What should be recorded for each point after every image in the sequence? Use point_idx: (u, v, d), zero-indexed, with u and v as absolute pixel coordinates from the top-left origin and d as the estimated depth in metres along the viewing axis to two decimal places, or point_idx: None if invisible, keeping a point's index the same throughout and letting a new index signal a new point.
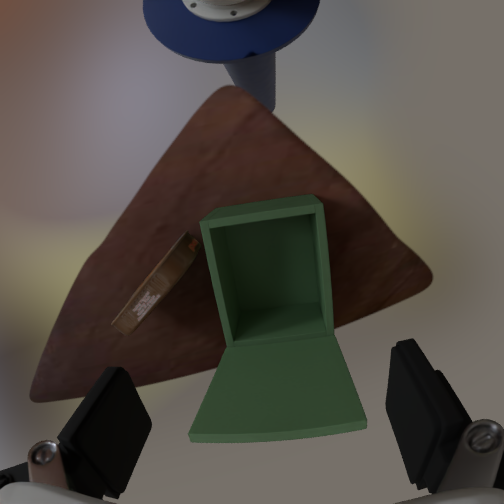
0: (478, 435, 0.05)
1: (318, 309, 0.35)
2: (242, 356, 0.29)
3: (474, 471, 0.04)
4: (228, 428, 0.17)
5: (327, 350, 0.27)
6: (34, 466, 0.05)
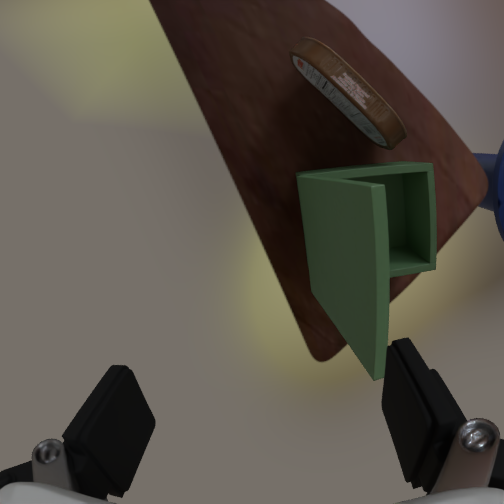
0: (472, 434, 0.05)
1: None
2: None
3: (469, 470, 0.04)
4: None
5: None
6: (38, 465, 0.05)
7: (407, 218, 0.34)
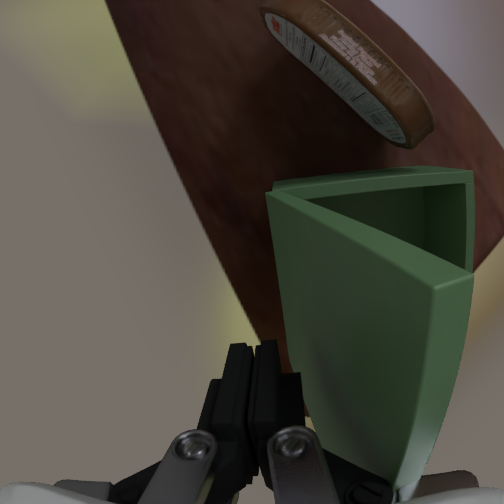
0: (285, 443, 0.06)
1: None
2: None
3: (302, 475, 0.05)
4: None
5: None
6: (188, 463, 0.06)
7: (427, 245, 0.24)
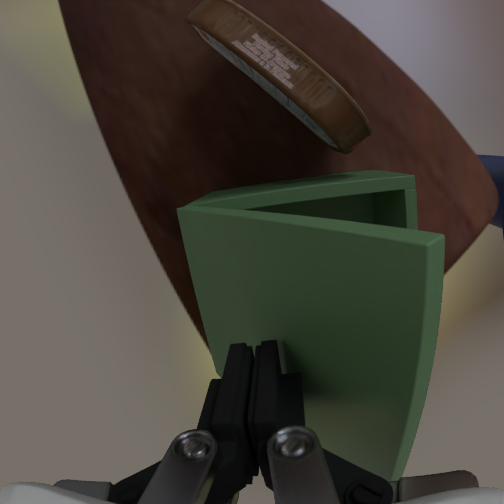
0: (285, 443, 0.06)
1: None
2: None
3: (302, 475, 0.05)
4: None
5: None
6: (188, 463, 0.06)
7: None
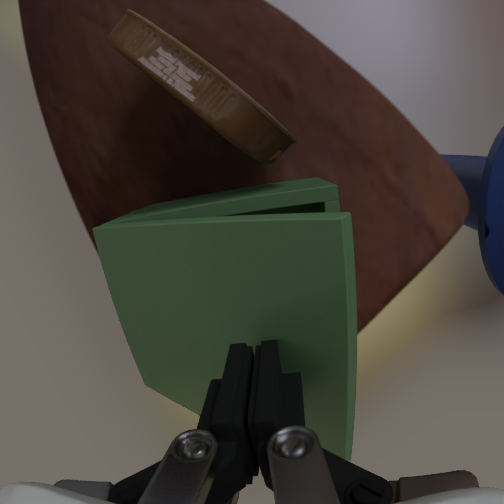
0: (285, 443, 0.06)
1: None
2: None
3: (302, 475, 0.05)
4: None
5: None
6: (188, 463, 0.06)
7: None
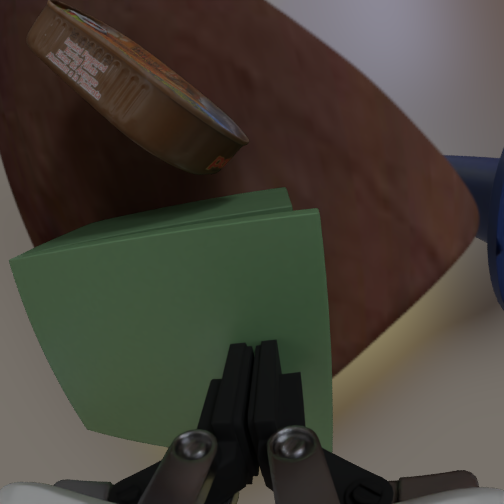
0: (285, 444, 0.06)
1: None
2: None
3: (302, 475, 0.05)
4: None
5: None
6: (188, 463, 0.06)
7: None
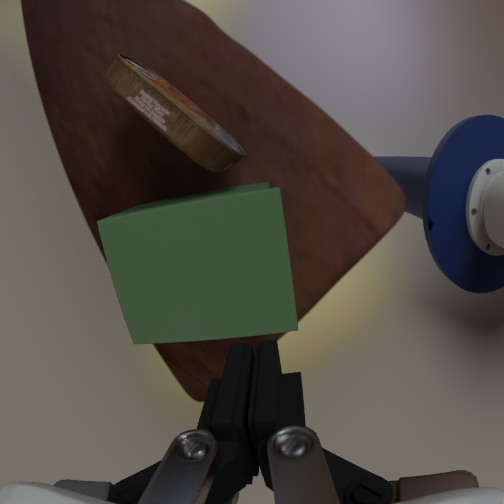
0: (285, 443, 0.06)
1: None
2: None
3: (302, 475, 0.05)
4: None
5: None
6: (188, 463, 0.06)
7: None
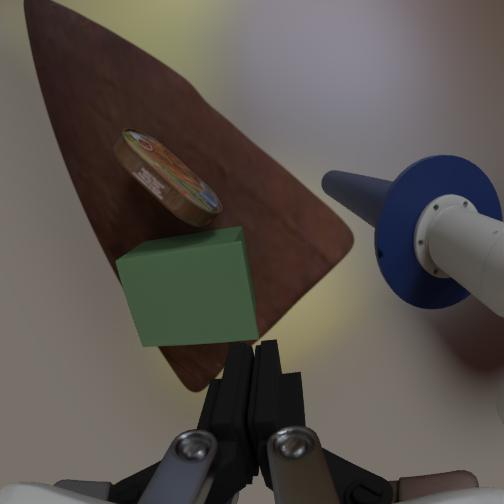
0: (285, 443, 0.06)
1: None
2: None
3: (302, 475, 0.05)
4: None
5: None
6: (188, 463, 0.06)
7: None
